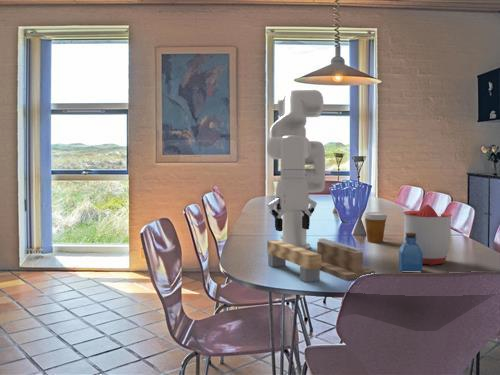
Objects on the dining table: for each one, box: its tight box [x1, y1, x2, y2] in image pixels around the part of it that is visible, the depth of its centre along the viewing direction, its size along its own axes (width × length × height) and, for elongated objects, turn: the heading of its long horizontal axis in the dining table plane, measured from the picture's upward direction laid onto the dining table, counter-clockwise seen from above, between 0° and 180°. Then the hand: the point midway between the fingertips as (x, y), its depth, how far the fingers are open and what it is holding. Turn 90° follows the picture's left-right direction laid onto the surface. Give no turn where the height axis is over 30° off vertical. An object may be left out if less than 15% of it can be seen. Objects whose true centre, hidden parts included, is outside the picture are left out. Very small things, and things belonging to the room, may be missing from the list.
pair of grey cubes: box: [267, 253, 321, 283], centre depth 147 cm, size 23×5×4 cm, turn 26°
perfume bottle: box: [398, 233, 423, 272], centre depth 149 cm, size 6×6×12 cm
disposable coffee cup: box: [363, 211, 388, 244], centre depth 197 cm, size 10×10×12 cm
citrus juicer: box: [403, 204, 453, 266], centre depth 161 cm, size 16×17×20 cm
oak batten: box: [266, 239, 321, 270], centre depth 147 cm, size 26×4×4 cm, turn 26°
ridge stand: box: [316, 238, 376, 281], centre depth 150 cm, size 22×11×8 cm, turn 26°
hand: (292, 229), depth 146 cm, fingers open, 9 cm apart
